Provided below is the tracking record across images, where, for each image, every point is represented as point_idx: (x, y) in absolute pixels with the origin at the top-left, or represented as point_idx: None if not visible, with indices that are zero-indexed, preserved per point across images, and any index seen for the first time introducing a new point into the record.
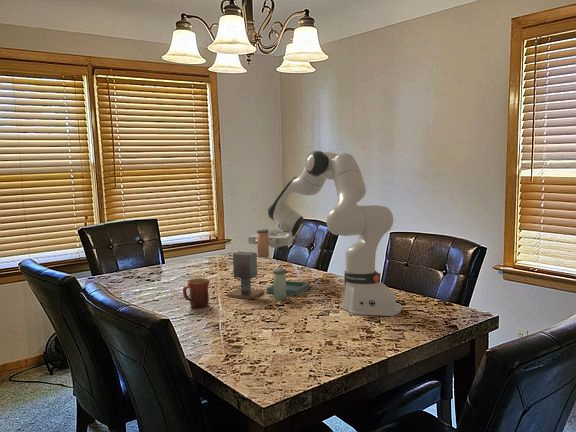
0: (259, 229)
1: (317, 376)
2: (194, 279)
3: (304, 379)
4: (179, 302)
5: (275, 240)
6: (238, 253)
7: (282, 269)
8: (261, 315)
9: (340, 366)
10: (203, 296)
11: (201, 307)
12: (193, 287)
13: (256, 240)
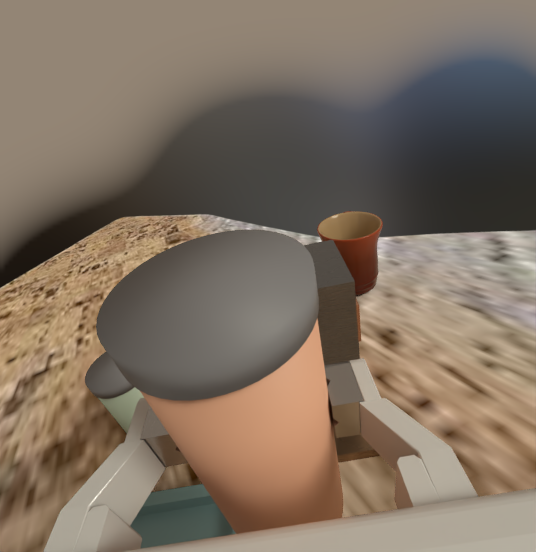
0: (303, 293)
1: (77, 247)
2: (378, 227)
3: (90, 241)
4: (427, 275)
5: (72, 513)
6: (318, 255)
7: (102, 381)
8: None
9: (50, 265)
10: None
11: None
12: (339, 224)
13: (332, 365)
